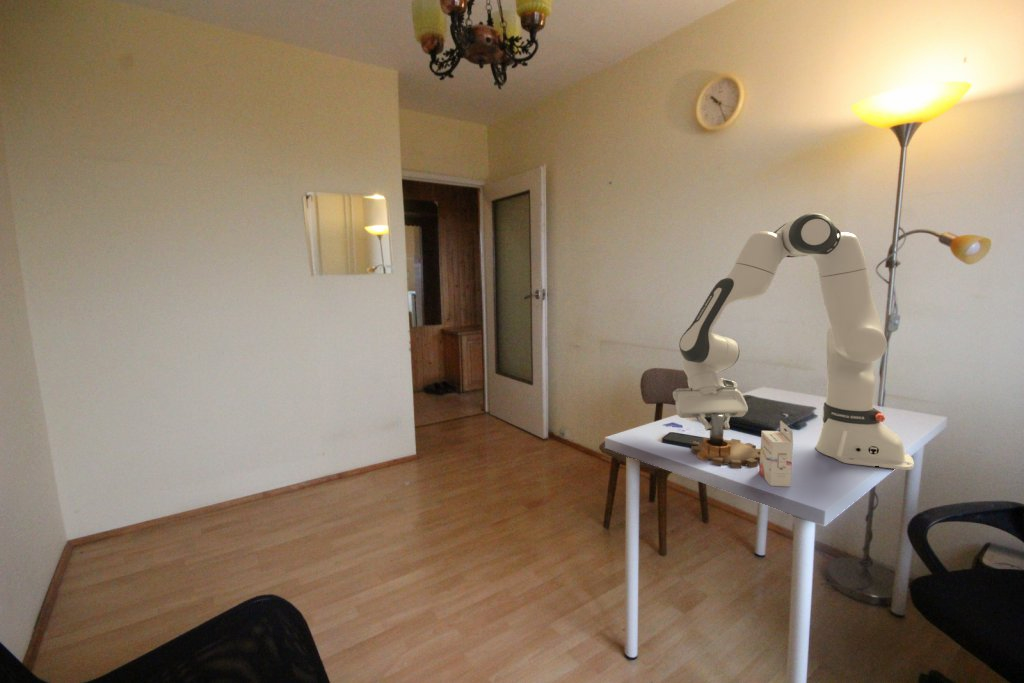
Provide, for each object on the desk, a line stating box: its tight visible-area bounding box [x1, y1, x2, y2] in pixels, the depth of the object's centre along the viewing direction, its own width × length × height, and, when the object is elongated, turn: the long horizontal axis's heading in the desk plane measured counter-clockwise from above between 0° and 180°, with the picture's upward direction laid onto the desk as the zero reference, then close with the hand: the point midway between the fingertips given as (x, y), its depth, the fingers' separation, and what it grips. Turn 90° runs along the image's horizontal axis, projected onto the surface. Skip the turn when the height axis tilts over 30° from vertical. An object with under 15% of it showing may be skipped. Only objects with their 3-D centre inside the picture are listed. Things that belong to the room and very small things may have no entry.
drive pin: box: [709, 413, 725, 447], centre depth 134 cm, size 4×4×9 cm
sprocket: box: [690, 437, 761, 469], centre depth 136 cm, size 20×20×4 cm
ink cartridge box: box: [758, 420, 794, 487], centre depth 118 cm, size 9×5×15 cm, turn 170°
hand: (717, 429), depth 133 cm, fingers closed on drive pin, 4 cm apart
